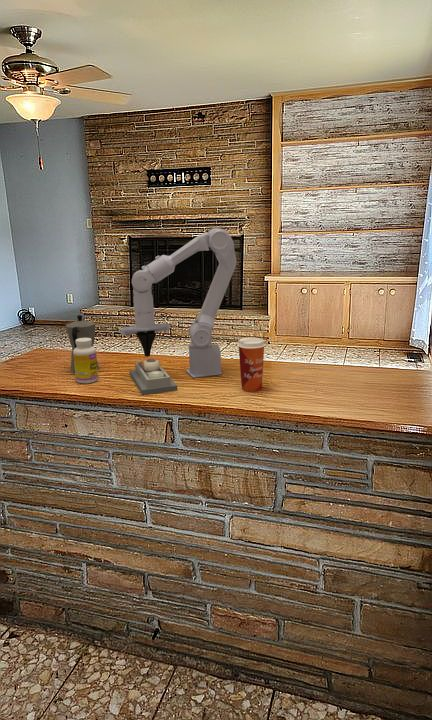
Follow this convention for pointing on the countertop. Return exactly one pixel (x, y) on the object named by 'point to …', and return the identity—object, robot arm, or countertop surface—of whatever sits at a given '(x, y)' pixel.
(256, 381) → the paper cup
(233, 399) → the countertop surface
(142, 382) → the button board
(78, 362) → the supplement bottle
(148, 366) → the ivory button
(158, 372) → the sage button
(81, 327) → the coffeepot
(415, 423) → the countertop surface
